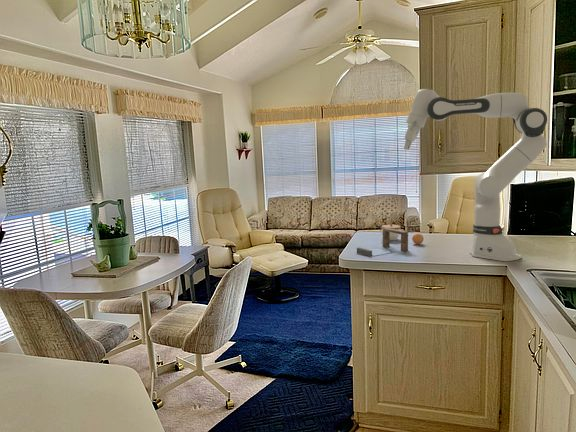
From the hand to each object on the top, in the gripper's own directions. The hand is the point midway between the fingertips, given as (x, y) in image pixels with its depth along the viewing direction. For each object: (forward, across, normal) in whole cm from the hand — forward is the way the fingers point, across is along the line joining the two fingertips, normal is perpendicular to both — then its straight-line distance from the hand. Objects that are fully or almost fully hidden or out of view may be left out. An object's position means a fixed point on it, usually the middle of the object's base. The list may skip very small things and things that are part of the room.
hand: (406, 149), depth 216 cm
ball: (+44, +16, -20) cm, 51 cm away
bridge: (+50, +2, -11) cm, 51 cm away
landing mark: (+53, -8, -3) cm, 54 cm away
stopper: (+54, -14, +1) cm, 56 cm away
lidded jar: (+52, +25, -7) cm, 58 cm away
